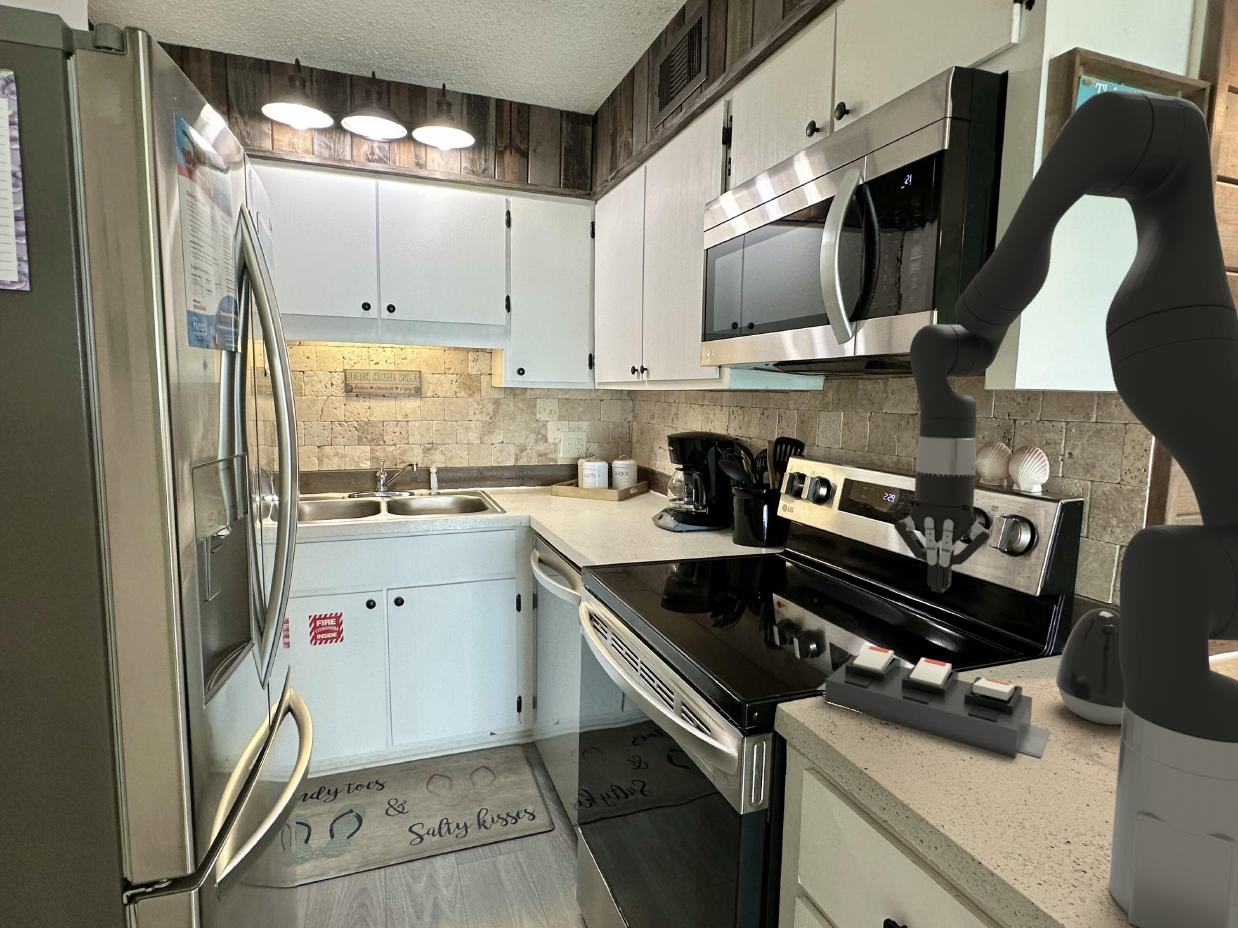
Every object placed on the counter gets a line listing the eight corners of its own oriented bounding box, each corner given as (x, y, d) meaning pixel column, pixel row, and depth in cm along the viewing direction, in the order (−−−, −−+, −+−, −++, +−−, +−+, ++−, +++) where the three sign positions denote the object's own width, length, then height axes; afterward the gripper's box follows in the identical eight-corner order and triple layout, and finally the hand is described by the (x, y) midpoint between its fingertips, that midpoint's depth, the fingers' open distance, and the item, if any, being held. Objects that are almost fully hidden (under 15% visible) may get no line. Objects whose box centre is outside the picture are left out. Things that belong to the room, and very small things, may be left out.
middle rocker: (940, 690, 93) (940, 683, 93) (909, 683, 96) (909, 675, 95) (951, 670, 98) (951, 663, 97) (921, 663, 100) (921, 656, 100)
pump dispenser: (1058, 723, 92) (1065, 614, 91) (1051, 694, 101) (1057, 594, 100) (1152, 741, 87) (1161, 626, 86) (1136, 709, 97) (1144, 604, 95)
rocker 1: (880, 675, 98) (880, 668, 98) (853, 668, 101) (852, 662, 100) (893, 656, 103) (893, 650, 102) (867, 650, 105) (866, 644, 105)
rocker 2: (1006, 700, 88) (1007, 691, 88) (972, 691, 90) (973, 683, 91) (1014, 692, 93) (1015, 684, 93) (981, 685, 95) (982, 677, 95)
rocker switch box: (1038, 764, 82) (1040, 727, 81) (808, 698, 100) (809, 667, 99) (1051, 727, 91) (1053, 694, 91) (839, 672, 109) (840, 644, 109)
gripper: (887, 468, 97) (882, 587, 98) (992, 475, 88) (984, 605, 90) (903, 464, 102) (898, 577, 104) (1003, 470, 94) (996, 593, 96)
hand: (938, 590), depth 97 cm, fingers closed
